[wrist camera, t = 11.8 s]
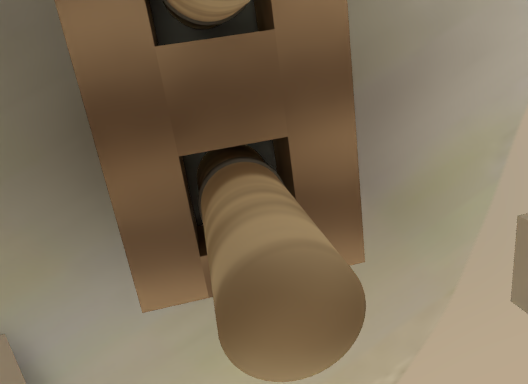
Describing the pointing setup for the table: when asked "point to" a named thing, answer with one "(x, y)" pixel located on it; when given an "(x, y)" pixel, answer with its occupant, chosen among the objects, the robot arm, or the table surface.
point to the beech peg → (273, 272)
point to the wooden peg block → (214, 121)
